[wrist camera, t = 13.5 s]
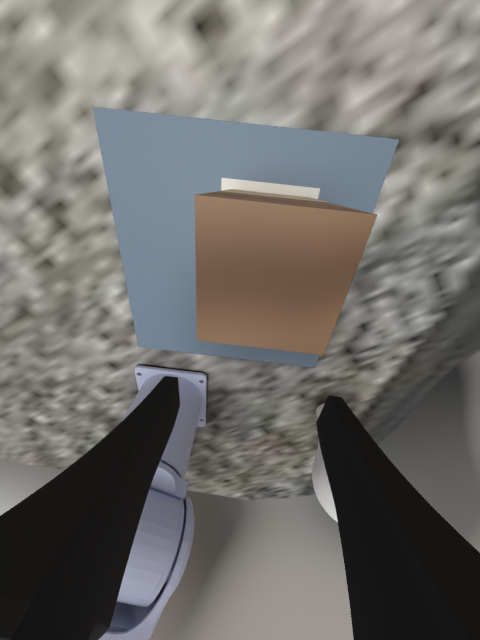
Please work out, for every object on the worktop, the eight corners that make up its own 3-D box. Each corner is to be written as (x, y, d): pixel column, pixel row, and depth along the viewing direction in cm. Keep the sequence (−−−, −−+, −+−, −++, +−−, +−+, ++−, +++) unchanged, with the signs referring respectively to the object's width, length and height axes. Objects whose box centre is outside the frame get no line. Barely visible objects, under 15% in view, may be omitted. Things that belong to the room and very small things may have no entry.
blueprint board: (313, 363, 23) (315, 368, 22) (140, 342, 23) (137, 347, 22) (393, 141, 13) (400, 139, 13) (99, 109, 13) (91, 106, 13)
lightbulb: (295, 418, 28) (313, 538, 18) (303, 384, 24) (331, 508, 15) (345, 422, 27) (390, 546, 18) (360, 388, 24) (424, 517, 15)
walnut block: (302, 299, 13) (323, 355, 9) (217, 289, 13) (196, 340, 9) (327, 202, 10) (377, 214, 6) (221, 190, 10) (194, 195, 6)
